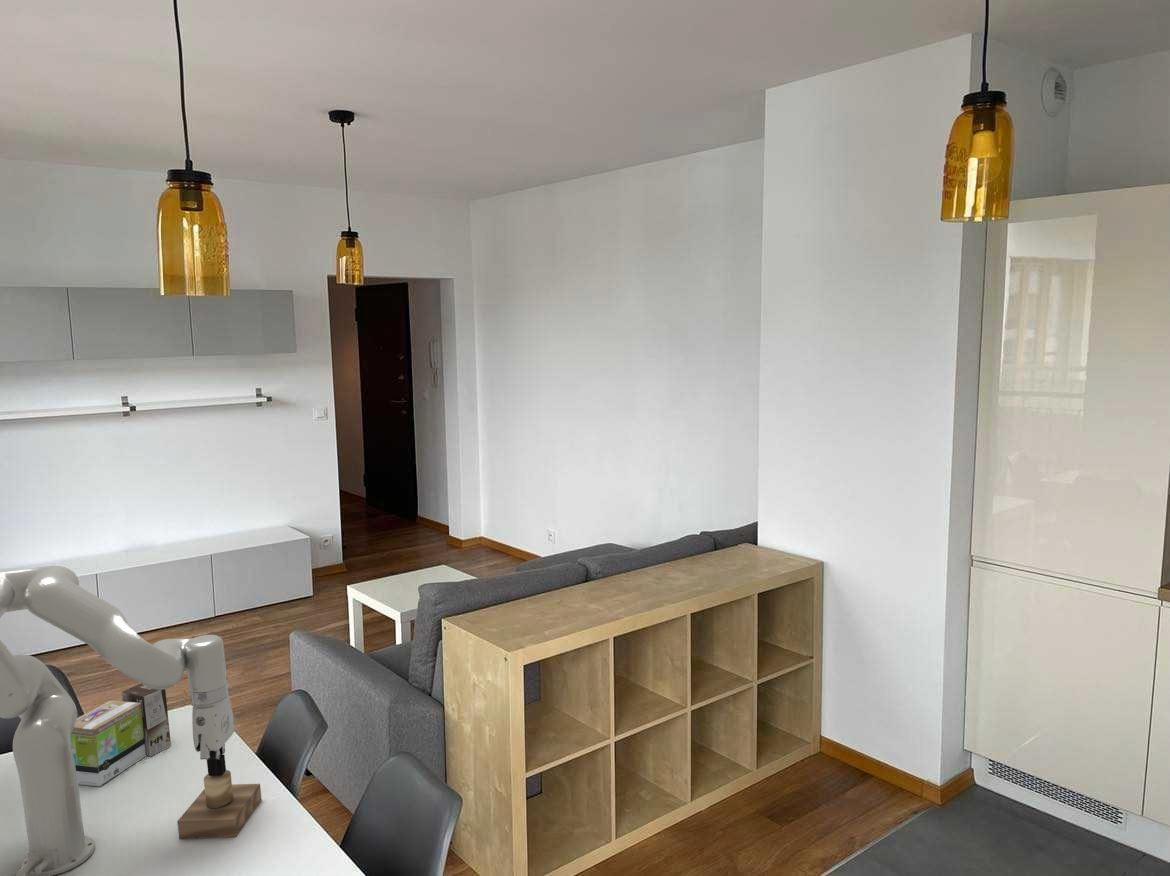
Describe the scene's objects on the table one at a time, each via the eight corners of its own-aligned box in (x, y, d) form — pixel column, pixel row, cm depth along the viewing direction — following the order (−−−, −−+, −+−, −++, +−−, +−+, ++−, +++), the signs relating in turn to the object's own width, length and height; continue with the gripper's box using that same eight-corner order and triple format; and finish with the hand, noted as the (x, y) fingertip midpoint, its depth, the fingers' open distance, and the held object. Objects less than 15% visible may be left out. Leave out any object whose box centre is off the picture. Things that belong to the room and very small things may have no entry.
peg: (228, 823, 181) (224, 782, 180) (203, 824, 181) (199, 783, 180) (238, 809, 186) (235, 769, 185) (214, 810, 186) (210, 769, 185)
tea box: (101, 787, 199) (94, 728, 197) (66, 784, 201) (59, 725, 199) (148, 756, 213) (141, 701, 212) (114, 753, 216) (108, 698, 214)
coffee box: (172, 746, 218) (166, 686, 216) (149, 757, 213) (143, 696, 211) (149, 739, 222) (143, 681, 221) (126, 750, 217) (120, 690, 215)
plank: (235, 836, 177) (233, 819, 176) (179, 838, 177) (177, 821, 176) (261, 800, 191) (260, 783, 190) (209, 801, 191) (207, 785, 190)
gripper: (210, 708, 173) (219, 792, 175) (240, 678, 188) (248, 756, 190) (174, 709, 173) (183, 793, 175) (207, 679, 188) (215, 757, 190)
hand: (217, 773), depth 182 cm, fingers closed
